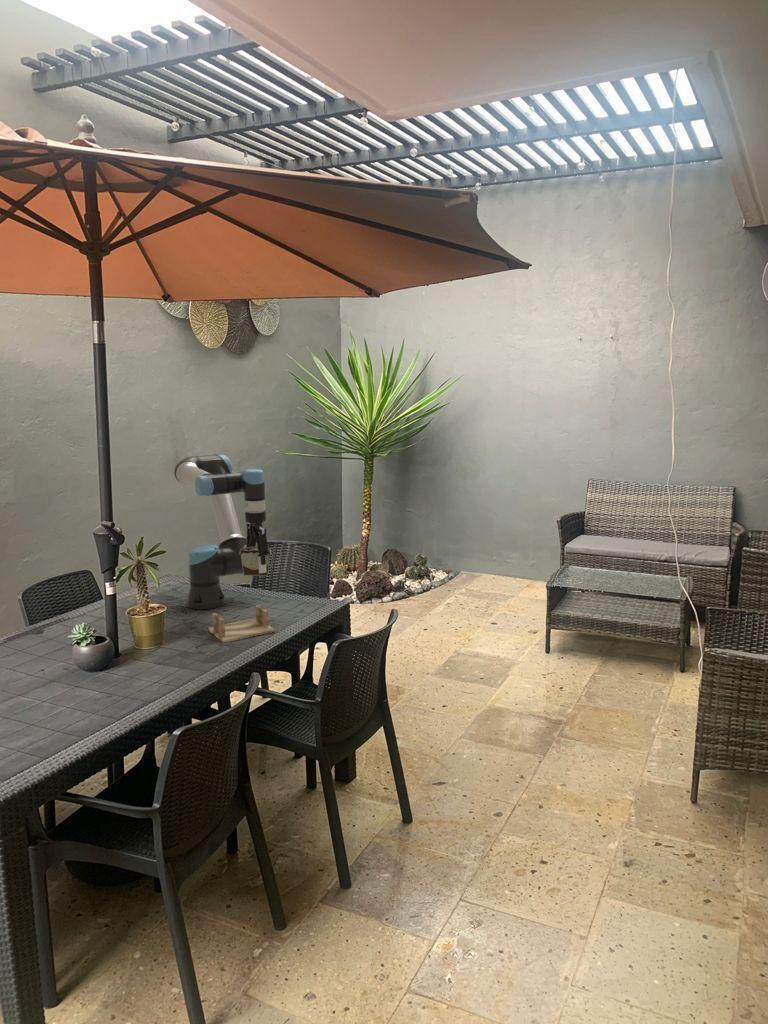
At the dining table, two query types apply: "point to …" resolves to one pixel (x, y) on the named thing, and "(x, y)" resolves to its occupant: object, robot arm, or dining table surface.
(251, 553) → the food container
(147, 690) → the dining table surface
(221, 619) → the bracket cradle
